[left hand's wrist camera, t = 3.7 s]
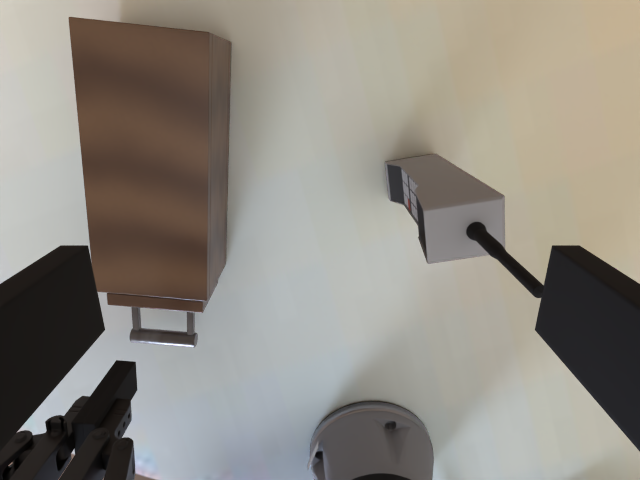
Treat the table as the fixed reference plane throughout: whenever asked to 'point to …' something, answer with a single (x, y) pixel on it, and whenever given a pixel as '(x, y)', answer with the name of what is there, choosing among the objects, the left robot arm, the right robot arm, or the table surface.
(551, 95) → the table surface
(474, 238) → the vintage mobile phone
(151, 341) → the drawer
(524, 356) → the table surface
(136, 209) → the cabinet
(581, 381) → the left robot arm
